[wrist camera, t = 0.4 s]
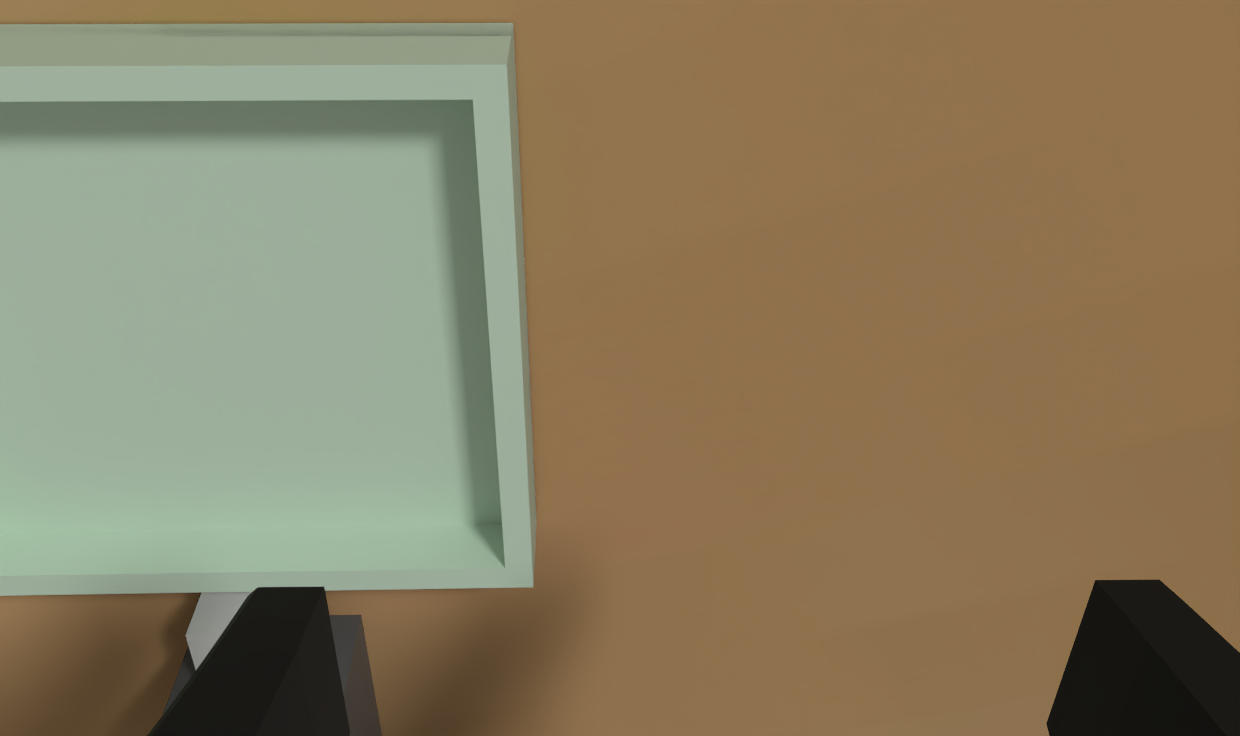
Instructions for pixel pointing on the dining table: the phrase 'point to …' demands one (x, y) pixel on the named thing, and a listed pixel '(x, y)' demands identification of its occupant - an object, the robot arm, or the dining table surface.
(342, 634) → the plug
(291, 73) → the tray
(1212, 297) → the dining table surface
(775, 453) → the dining table surface
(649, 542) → the dining table surface
